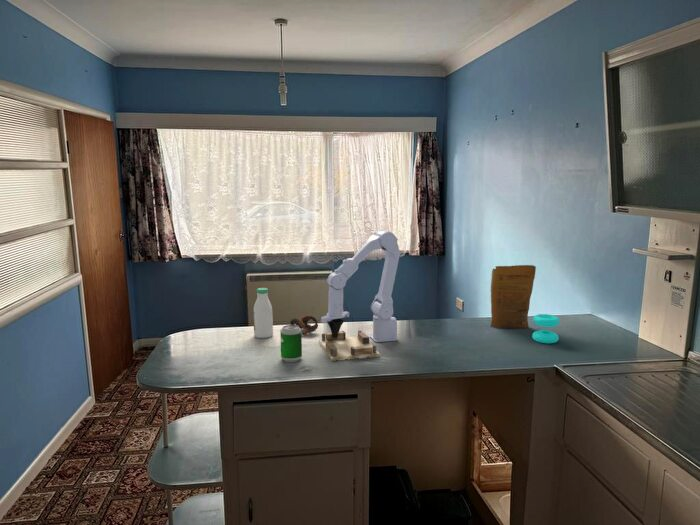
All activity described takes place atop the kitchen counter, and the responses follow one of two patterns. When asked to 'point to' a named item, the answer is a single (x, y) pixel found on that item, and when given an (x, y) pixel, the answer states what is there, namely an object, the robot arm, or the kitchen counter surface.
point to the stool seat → (349, 347)
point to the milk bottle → (263, 315)
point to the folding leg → (340, 336)
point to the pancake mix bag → (511, 295)
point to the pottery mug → (305, 324)
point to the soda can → (291, 343)
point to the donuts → (545, 335)
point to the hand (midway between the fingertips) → (334, 337)
